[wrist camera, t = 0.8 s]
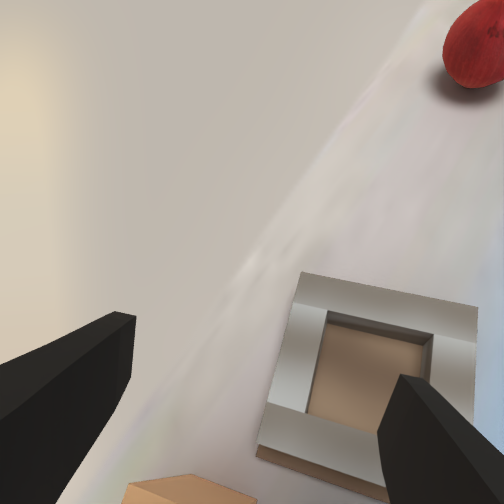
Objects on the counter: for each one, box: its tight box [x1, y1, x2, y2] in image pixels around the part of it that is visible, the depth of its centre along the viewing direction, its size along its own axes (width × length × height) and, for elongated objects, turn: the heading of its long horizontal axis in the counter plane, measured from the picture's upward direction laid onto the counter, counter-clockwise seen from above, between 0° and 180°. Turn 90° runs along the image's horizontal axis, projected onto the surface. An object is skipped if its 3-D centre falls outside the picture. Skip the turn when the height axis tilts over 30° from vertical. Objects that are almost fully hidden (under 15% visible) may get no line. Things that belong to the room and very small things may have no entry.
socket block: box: [256, 272, 478, 504], centre depth 21 cm, size 11×10×4 cm
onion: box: [442, 0, 504, 88], centre depth 29 cm, size 6×6×8 cm
